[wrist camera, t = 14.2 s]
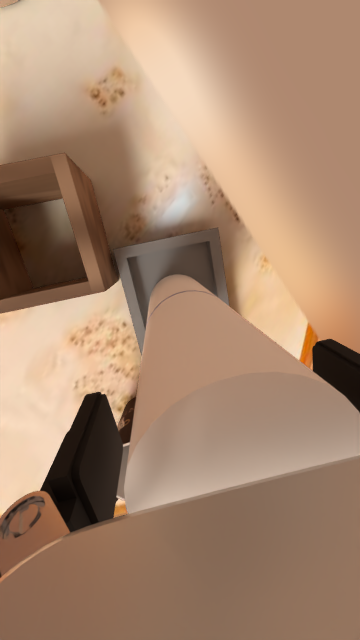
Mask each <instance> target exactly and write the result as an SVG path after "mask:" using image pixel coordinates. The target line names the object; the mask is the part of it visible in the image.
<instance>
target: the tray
mask: <svg viewBox="0 0 360 640" xmlns="http://www.w3.org/2000/svg"><path fill="white" fill-rule="evenodd" d="M113 251H114V255H115V259H116V262H117V266H118V270H119V274H120V277H121V281H122V285H123V288H124V292H125V296H126V300H127V303H128V307H129V311H130V314H131V318H132V322H133V326H134V329H135V333H136V337H137V340H138V344H139V348H140V352H141V355H142V352H143V345H144V338H145V331H146V323H147V316H148V309H149V302H150V296H151V293H152V290H153V288H154V287H155V285H156V284H157V283H158V282H159V281H160V280H162V279H163V278H165V277H167V276H170V275H174V274H181V275H186V276H189V277H191V278H193V279H194V280H196V281H197V282H198V283H200V284H201V285H202V286H203V287H205V288H206V289H207V290H209V291H210V292H211V293H213V294H214V295H215V296H216V297H218V298H219V299H220V300H222V301H223V302H224V303H226V304H227V305H228V306H229V300H228V293H227V286H226V279H225V272H224V265H223V258H222V251H221V244H220V237H219V230H218V228H213V229H209V230H204V231H199V232H194V233H189V234H184V235H180V236H175V237H170V238H165V239H160V240H155V241H151V242H146V243H141V244H136V245H131V246H126V247H122V248H117V249H113Z"/></svg>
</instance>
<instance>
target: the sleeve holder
mask: <svg viewBox="0 0 360 640" xmlns="http://www.w3.org/2000/svg"><path fill="white" fill-rule="evenodd" d="M61 198H63V200H64V203H65V206H66V209H67V213H68V216H69V219H70V222H71V226H72V229H73V232H74V235H75V239H76V242H77V245H78V248H79V252H80V255H81V258H82V261H83V264H84V268H85V271H86V274H87V277H86V278H82V279H77V280H72V281H67V282H62V283H58V284H53V285H48V286H43V287H39V288H34V289H33V286H32V283H31V281H30V278H29V276H28V273H27V270H26V268H25V265H24V262H23V260H22V257H21V254H20V252H19V249H18V246H17V244H16V241H15V239H14V236H13V233H12V231H11V228H10V225H9V223H8V220H7V217H6V215H5V212H4V210H6V209H11V208H16V207H21V206H26V205H31V204H36V203H41V202H46V201H51V200H56V199H61ZM117 281H118V278H117V274H116V271H115V267H114V263H113V260H112V256H111V253H110V249H109V245H108V242H107V238H106V234H105V231H104V227H103V223H102V220H101V216H100V212H99V209H98V205H97V201H96V198H95V194H94V190H93V187H92V183H91V180H90V179H89V178H88V177H87V176H86V175H85V174H84V173H83V172H82V170H81V169H80V168H79V167H78V166H77V165H76V164H75V163H74V162H73V161H72V160H71V159H70V158H69V157H68V156H67V155H66V154H65V153H61V154H56V155H51V156H46V157H40V158H35V159H30V160H25V161H20V162H15V163H9V164H4V165H0V314H1V313H5V312H10V311H15V310H19V309H24V308H29V307H34V306H38V305H43V304H48V303H52V302H57V301H62V300H67V299H71V298H76V297H81V296H85V295H90V294H95V293H99V292H104V291H106V290H107V289H109V288H110V287H111V286H112V285H114V284H115V283H116V282H117Z"/></svg>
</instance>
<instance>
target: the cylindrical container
mask: <svg viewBox="0 0 360 640" xmlns="http://www.w3.org/2000/svg"><path fill="white" fill-rule="evenodd" d="M358 455H360V413H359V411H358V410H357V409H356V408H355V407H354V406H353V404H352V403H351V402H350V401H349V400H348V399H347V398H346V397H345V396H344V395H343V394H342V393H340V392H339V391H338V390H336V389H335V388H334V387H333V386H331V385H330V384H329V383H327V382H326V381H325V380H323V379H322V378H321V377H320V376H318V375H317V374H316V373H314V372H313V371H312V370H311V369H309V368H308V367H307V366H305V365H304V364H303V363H302V362H300V361H299V360H298V359H296V358H295V357H294V356H292V355H291V354H290V353H289V352H287V351H286V350H285V349H283V348H282V347H281V346H280V345H278V344H277V343H276V342H274V341H273V340H272V339H270V338H269V337H268V336H267V335H265V334H264V333H263V332H261V331H260V330H259V329H258V328H256V327H255V326H254V325H252V324H251V323H250V322H249V321H247V320H246V319H245V318H243V317H242V316H241V315H240V314H238V313H237V312H236V311H234V310H233V309H232V308H231V307H229V306H228V305H227V304H226V303H224V302H223V301H222V300H220V299H219V298H218V297H216V296H215V295H214V294H213V293H211V292H210V291H209V290H207V289H206V288H205V287H203V286H202V285H201V284H200V283H198V282H197V281H196V280H194V279H193V278H191V277H189V276H186V275H181V274H174V275H170V276H167V277H165V278H163V279H162V280H160V281H159V282H158V283H157V284H156V285H155V287H154V288H153V290H152V293H151V296H150V302H149V309H148V316H147V323H146V331H145V338H144V345H143V352H142V359H141V366H140V373H139V380H138V387H137V395H136V402H135V409H134V417H133V424H132V432H131V439H130V446H129V454H128V461H127V469H126V476H125V483H124V495H125V504H126V510H127V512H128V514H130V513H133V512H137V511H141V510H144V509H148V508H152V507H155V506H159V505H163V504H167V503H171V502H174V501H178V500H182V499H186V498H190V497H194V496H198V495H202V494H206V493H210V492H213V491H217V490H221V489H225V488H229V487H233V486H237V485H241V484H245V483H249V482H253V481H257V480H261V479H265V478H269V477H273V476H277V475H281V474H285V473H289V472H293V471H297V470H301V469H305V468H309V467H313V466H317V465H321V464H325V463H329V462H333V461H338V460H342V459H346V458H350V457H354V456H358Z"/></svg>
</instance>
